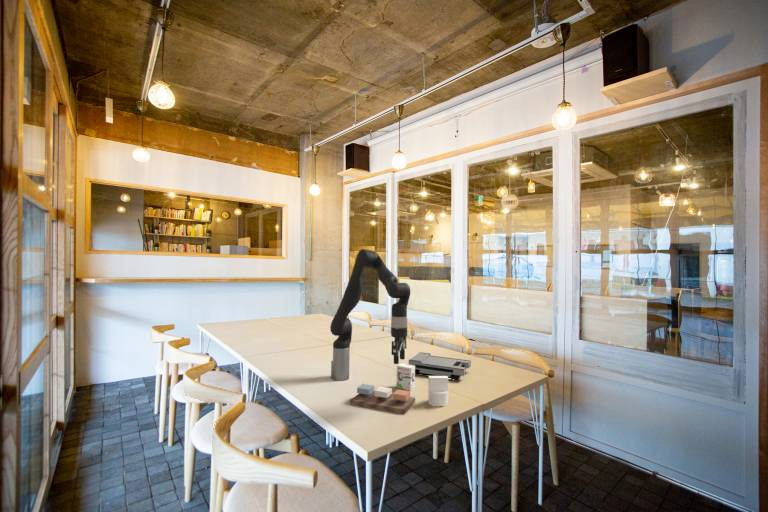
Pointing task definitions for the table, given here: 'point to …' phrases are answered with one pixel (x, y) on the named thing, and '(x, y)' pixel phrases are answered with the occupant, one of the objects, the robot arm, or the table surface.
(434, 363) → the game console
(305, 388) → the table surface
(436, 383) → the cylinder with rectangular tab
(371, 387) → the slate-blue key
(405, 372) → the ink box
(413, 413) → the table surface
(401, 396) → the rust key
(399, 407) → the key panel
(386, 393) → the off-white key
